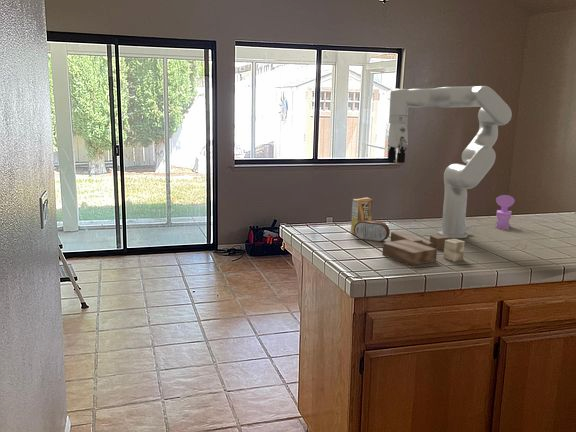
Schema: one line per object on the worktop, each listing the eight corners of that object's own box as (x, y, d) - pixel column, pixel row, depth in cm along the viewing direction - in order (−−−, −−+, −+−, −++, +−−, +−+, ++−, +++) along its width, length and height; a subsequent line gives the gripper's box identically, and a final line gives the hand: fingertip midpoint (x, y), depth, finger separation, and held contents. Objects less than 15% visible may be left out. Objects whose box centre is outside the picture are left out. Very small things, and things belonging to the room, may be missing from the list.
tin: (389, 241, 227) (390, 222, 225) (387, 243, 224) (388, 223, 222) (354, 237, 233) (355, 218, 231) (352, 239, 230) (353, 219, 228)
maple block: (452, 256, 206) (454, 238, 205) (463, 259, 202) (464, 241, 201) (443, 258, 204) (444, 240, 202) (453, 261, 200) (455, 243, 198)
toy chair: (492, 227, 255) (495, 196, 252) (493, 224, 263) (496, 193, 260) (511, 229, 252) (515, 198, 249) (512, 225, 260) (515, 195, 257)
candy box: (364, 230, 246) (365, 197, 243) (371, 232, 243) (372, 198, 240) (350, 233, 240) (351, 199, 237) (357, 234, 237) (359, 200, 234)
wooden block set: (414, 239, 210) (390, 228, 227) (413, 253, 211) (389, 242, 228) (450, 235, 216) (424, 226, 232) (449, 249, 217) (424, 238, 233)
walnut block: (405, 251, 213) (406, 239, 212) (435, 262, 200) (436, 248, 199) (382, 255, 207) (383, 242, 206) (411, 266, 194) (412, 253, 193)
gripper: (415, 120, 215) (413, 163, 218) (398, 119, 231) (396, 159, 235) (398, 120, 213) (395, 163, 217) (381, 119, 230) (379, 159, 233)
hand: (395, 161), depth 226 cm, fingers open, 9 cm apart
